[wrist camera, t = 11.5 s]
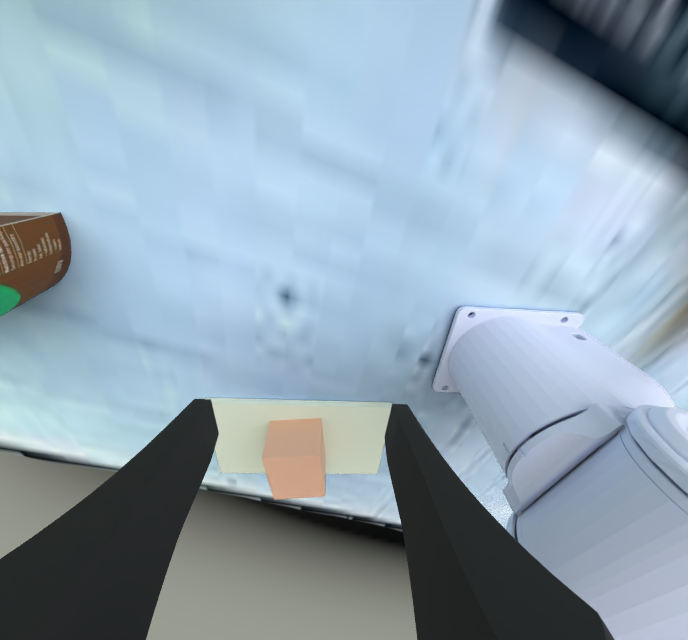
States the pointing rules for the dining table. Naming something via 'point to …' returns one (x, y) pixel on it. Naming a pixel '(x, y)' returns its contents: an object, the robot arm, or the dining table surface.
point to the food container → (31, 255)
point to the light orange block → (295, 458)
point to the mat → (337, 418)
